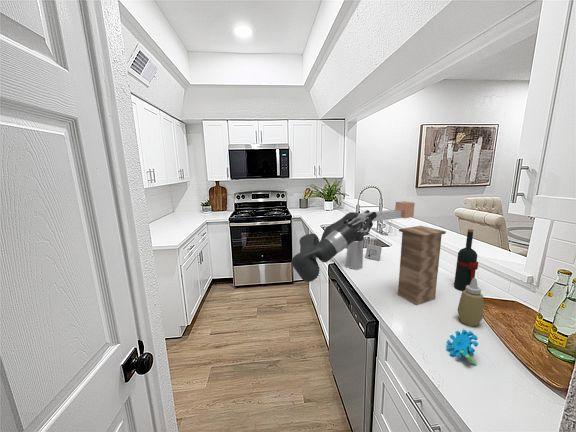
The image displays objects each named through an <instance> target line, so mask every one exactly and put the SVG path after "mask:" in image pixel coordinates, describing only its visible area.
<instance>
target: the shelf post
mask: <svg viewBox="0 0 576 432" xmlns="http://www.w3.org/2000/svg"><path fill="white" fill-rule="evenodd" d="M398 232H401V233H402V235H401V247H400V258H399V260H400V261H399V273H398V288H397V296H399V297H400V298H402V299H404V300H406V301H407V302H409V303H411V304H413V305H414V306H419V305H421V304H425V303H428V302H431V301H435V299H436V291H437V283H438V282H437V280H438V273H439V263H440V255H441V254H440V253H441V244H442V243H441V242H442V235H445V234H447V232H446V231H445V230H443V229H442V230H441V229H437V228H433V227H428V226H424V225H417V226H411V227H405V228H399V229H398Z"/></svg>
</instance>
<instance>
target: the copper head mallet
mask: <svg viewBox="0 0 576 432" xmlns="http://www.w3.org/2000/svg"><path fill="white" fill-rule="evenodd" d="M415 205H416V203H415V202H413V201H412V202H411V201H406V200H405V201H403V200H402V201H395V206H394V208H395V209H389V210H379V211H375V212H376V214H377V217H376V218H375V219H373V220H372V222H379V221H387V220H388V221H389V220H397V219H411V218H414V217H415V216H414V213H415ZM372 212H373V211H370V212H367V213H364V212H357V213H358V221H359V220H361V219H362V220H363V219H365V218H366V217H367V216H369V215H370V214H371V213H372ZM366 222H367V221H365V223H366Z"/></svg>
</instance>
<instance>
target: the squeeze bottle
mask: <svg viewBox="0 0 576 432" xmlns="http://www.w3.org/2000/svg"><path fill="white" fill-rule="evenodd" d="M481 292H482V289H481V288H480V287H479V286H478V280H477V278H476V277H475V278H473V279H472V281H471V283H470V285H467V286H466V289H465V290H464V291H461V295H460V299H459V302H458V306H457V309H456V310H457V314H458V317H459V321H460V322H461V323H463V324H464V325H466V326H470V327H478V326H479V324H480V323H481V321H482V320H483V319H484V295H483V294H482V293H481Z"/></svg>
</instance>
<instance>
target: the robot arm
mask: <svg viewBox="0 0 576 432" xmlns="http://www.w3.org/2000/svg"><path fill="white" fill-rule="evenodd" d="M367 212H372V213H371V214H370V215H369V216H367V217H366V218H365V219H363V220H362V219H361V220H359V221H358V213H359V212H354V211H353V212H348V213H346V214H345V215H344V216H342V218H340V219H339V220H337V221H335V222H333V223H332V224H329V225H328V226H327V227H325V229H324V231H323V232H322V235H321V237H320V239H319V237H318V235H317V234H315V233H308V234H305V235H303V236H301V237H300V239H299V245H300V246H299V247H300V249H299V253H297V254H295V255H294V256H293V257H292V259H291V265H292V268H294V270H295V272H296V273H297V275H299V277H300V278H301V279H302V281H304V282H305V283H306V282H307V283H311V282H313V281H315V280H316V279H318V276H319V274H320V267H319V266H320V265H319V263H318V261H317V259H318V260H319V261H320V262H322V263H328V262H329V261H330V260H331V259H333V258H334V257H335V256H336V255H337V254H339V253H340V252H342V251H343V250H345V249H346V248H347V249H346V256H345V257H346V258H345V259H346V260H345V261H346V262H345V267H346V268H348V267H349V268H348V269H351V268H352V269H351V270H360V269H359V268H361V269H362V268H363V263H364V262H363V261H364V259H363V257H364V238H365V234H366V235H368V234H369V233H370V231H371V229H372V228H373V226H374V223H373V221H372V220H373V219H375V218H376V217H377V214H376V212H377V211H370V210H368V209H367V210H365V211H364V212H363V213H367ZM365 221H367V222H365Z"/></svg>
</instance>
